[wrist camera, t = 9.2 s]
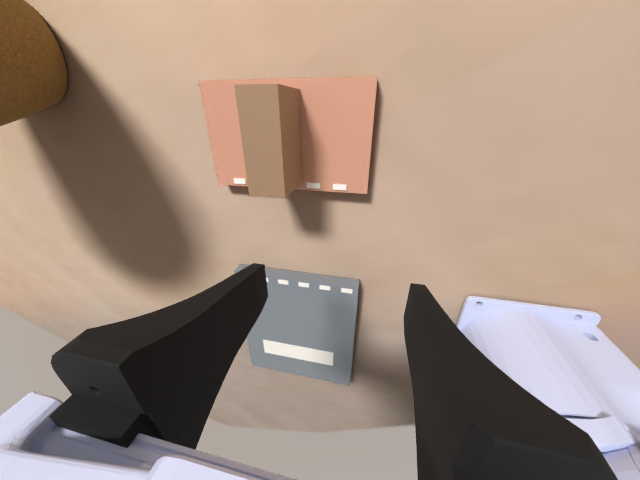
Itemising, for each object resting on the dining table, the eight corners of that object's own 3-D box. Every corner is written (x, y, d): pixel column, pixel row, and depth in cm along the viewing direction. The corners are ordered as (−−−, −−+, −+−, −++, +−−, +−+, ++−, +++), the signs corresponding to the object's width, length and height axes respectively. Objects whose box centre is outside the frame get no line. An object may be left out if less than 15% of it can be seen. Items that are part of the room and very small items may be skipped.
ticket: (359, 279, 23) (358, 288, 22) (350, 376, 30) (349, 386, 28) (240, 264, 25) (233, 271, 24) (256, 356, 32) (251, 366, 31)
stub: (377, 78, 16) (375, 66, 11) (367, 190, 19) (363, 213, 15) (207, 82, 18) (152, 73, 14) (225, 181, 21) (185, 199, 17)
